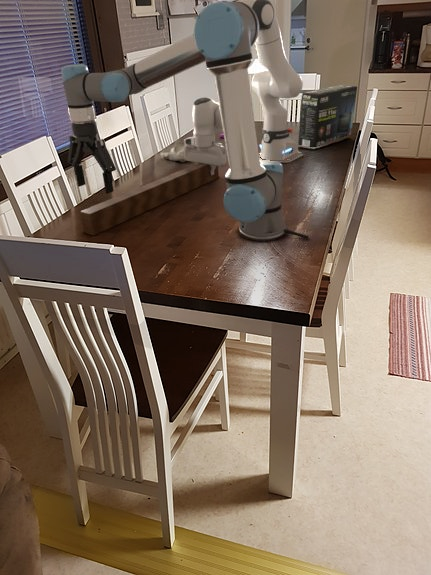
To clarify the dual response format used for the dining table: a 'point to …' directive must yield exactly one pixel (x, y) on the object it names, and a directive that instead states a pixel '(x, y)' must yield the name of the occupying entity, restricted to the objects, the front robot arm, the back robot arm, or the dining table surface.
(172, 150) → the fossil
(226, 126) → the front robot arm
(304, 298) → the dining table surface
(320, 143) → the router box
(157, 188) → the bar
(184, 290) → the dining table surface
